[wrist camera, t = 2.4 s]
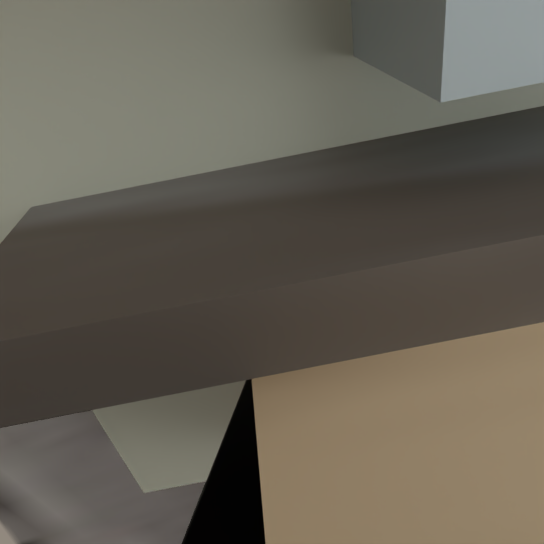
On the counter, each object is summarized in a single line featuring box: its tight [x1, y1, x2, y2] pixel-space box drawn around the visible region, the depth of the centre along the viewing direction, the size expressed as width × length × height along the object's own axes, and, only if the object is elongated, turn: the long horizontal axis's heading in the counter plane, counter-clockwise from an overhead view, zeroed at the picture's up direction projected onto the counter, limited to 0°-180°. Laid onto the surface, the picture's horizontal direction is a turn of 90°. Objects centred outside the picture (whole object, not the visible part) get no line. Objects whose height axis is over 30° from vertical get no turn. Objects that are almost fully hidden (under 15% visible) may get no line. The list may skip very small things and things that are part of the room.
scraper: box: [0, 106, 544, 544], centre depth 7 cm, size 7×10×6 cm
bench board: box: [0, 0, 544, 493], centre depth 8 cm, size 18×12×2 cm, turn 9°
